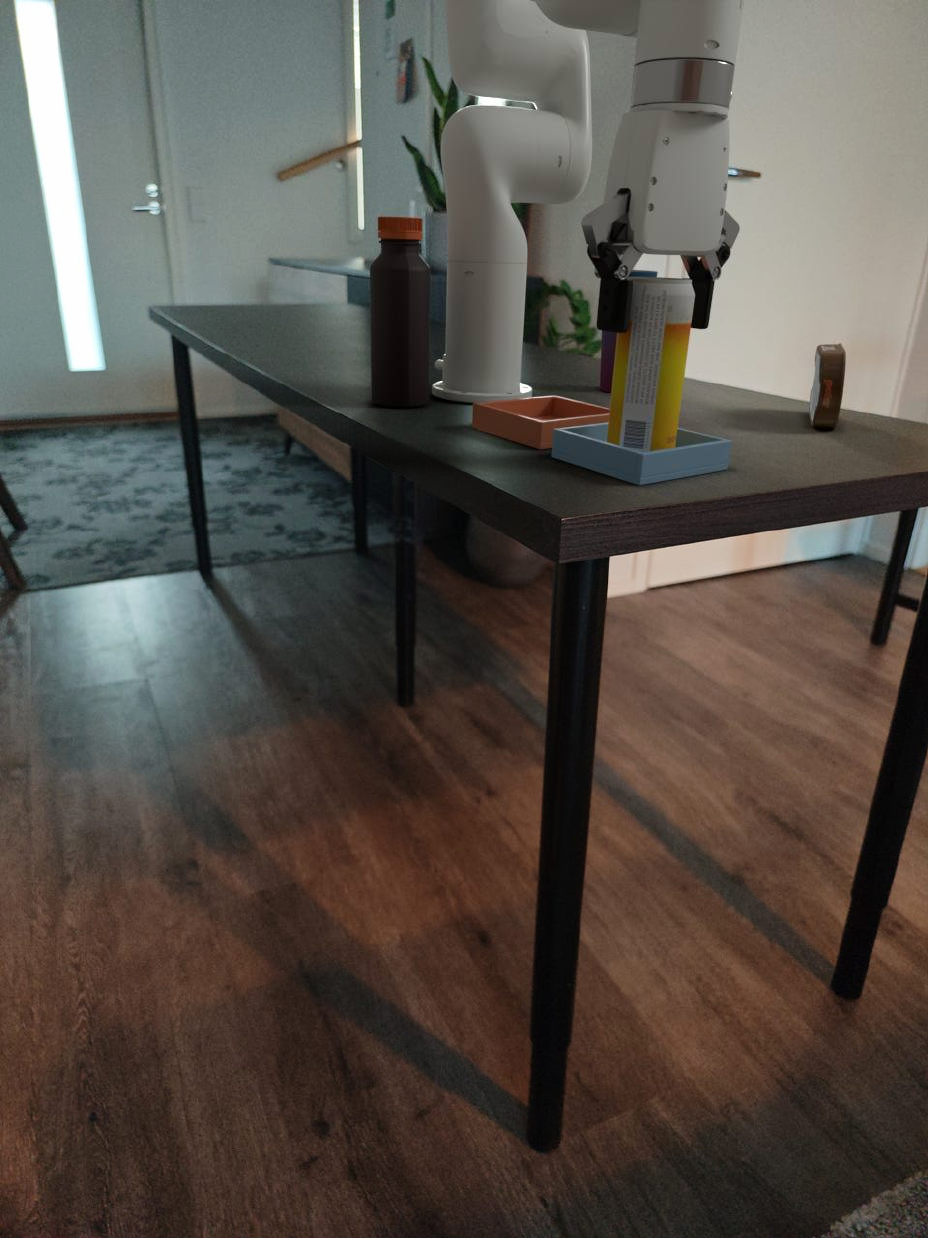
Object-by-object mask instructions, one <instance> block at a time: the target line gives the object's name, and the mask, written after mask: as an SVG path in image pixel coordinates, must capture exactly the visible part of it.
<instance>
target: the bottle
mask: <svg viewBox="0 0 928 1238" xmlns="http://www.w3.org/2000/svg"><path fill="white" fill-rule="evenodd" d="M423 221H424V220H423V218H422V217H413V216H412V217H409V216H408V217H407V216H378V217H377V239H380V240H378V241H377V243H378V244H380V253H379V254H378V256H377V257H376V258H375V259H374V260H373V262H371V264H370V266H369V300H370V301H369V313H370V315H369V318H370V375H371V376H370V380H371V382H370V385H371V387H370V388H371V390H370V391H371V401H372V403H373V404H374V405H375V406H379V407H385V408H391V409H392V408H393V409H412V408H413V409H414V408H421V407H424V406H426V405H427V404H428V403H429V401H430V356H431V355H430V353H431V352H430V351H431V350H430V349H431V348H430V347H431V279H432V278H431V276H432V275H431V274H432V273H431V272H432V271H431V270H432V269H431V267H430V265H429V264H428V263H427V261H426V260H425V259H424V258H423V256H422V255H421V253H420V247H421V246H420V245H423V242H421V241H420V240H423V237H424V236H423V231H424V230H423V227H424V225H423V224H424V223H423Z"/></svg>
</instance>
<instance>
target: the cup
mask: <svg viewBox="0 0 928 1238" xmlns="http://www.w3.org/2000/svg"><path fill="white" fill-rule="evenodd" d="M658 273H659V272H658V271H657V270H645V269H642V270H641V269H632V271H631V273H630V274H629V276H628V277H658ZM628 277H627V278H628ZM627 278H626V280H627ZM616 341H617V333H616V332H609V331H603V330H601V341H600V342H601V345H600V346H601V347H600V373H599V374H600V375H599V390H600V391H602V392H606V393H611V392H612V381H613V371H614V361H615V351H616Z"/></svg>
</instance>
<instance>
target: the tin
mask: <svg viewBox="0 0 928 1238" xmlns="http://www.w3.org/2000/svg"><path fill="white" fill-rule="evenodd" d="M846 354H847V353H846V350H845V347H844V346H843V345H842V343H840V342H839V343H838V344H837V343H836V344H835V343H834V344H829V343H828V344H826V343H825V344H819V345H817V346H816V350H815V355H814V376H813V382H812V386H811V389H810V394H809V395H810V397H809V408H808V409H809V410H808V412H809V421H810V425H811V427H813V428H818V429H819V428H820V429H833V430H836V429H837V428H838V424H839V420H840V419H839V418H840V414H841V408H842V401H843V394H844V386H845V377H846V376H845V375H846V367H847V366H846V359H847V355H846Z"/></svg>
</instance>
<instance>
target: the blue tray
mask: <svg viewBox="0 0 928 1238" xmlns="http://www.w3.org/2000/svg"><path fill="white" fill-rule="evenodd" d="M607 432H608V422H607V423H599V424H591V425H582V426H574V427H566V428H558V429H554V430H553V442H552V448H551V456H550V457H551V458H553V459H556V460H560V461H563V462H566V463H569V464H572V465H575V466H578V467H581V468H584V469H587V470H590V471H594V472H595V473H599V474H603V475H606V476H608V477H611V478H615V479H619V480H620V481H625V482H627V483H631V484H634V485H637V486H644V485H648V484H649V485H650V484H655V483H659V482H660V483H661V482H666V481H672V480H677V479H683V478H689V477H694V476H699V475H704V474H705V475H706V474H709V473H715V472H716V473H717V472H721V471H727V470H729V464H730V463H729V462H730V457H731V451H732V444H733V441H732V440H731V439H726V438H723V437H719V436H714V435H711V434H706V433H702V432H698V431H694V430H690V429H685V428H681V427H678V428H677V436H676V444H675V448H669V449H662V450H655V451H649V452H640V451H636V450H633V449H629V448H625V447H622V446H618V445H615V444H611V443H608V442H607Z"/></svg>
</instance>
